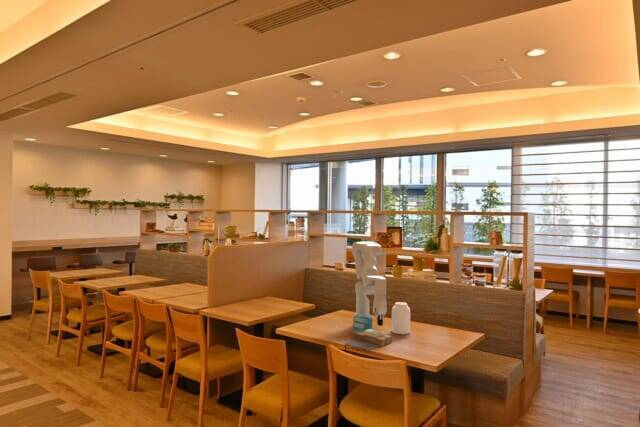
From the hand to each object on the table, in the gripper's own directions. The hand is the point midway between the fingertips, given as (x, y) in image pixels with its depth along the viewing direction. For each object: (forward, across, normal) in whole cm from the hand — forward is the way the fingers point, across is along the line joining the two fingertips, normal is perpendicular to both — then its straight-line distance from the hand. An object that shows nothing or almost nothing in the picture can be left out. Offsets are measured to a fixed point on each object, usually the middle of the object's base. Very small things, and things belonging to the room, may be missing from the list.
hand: (380, 325), depth 280 cm
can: (+9, -24, +1) cm, 25 cm away
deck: (+9, +6, -1) cm, 11 cm away
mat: (+9, +18, -1) cm, 21 cm away
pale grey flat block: (+5, +8, -1) cm, 9 cm away
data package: (+9, -2, -15) cm, 17 cm away
